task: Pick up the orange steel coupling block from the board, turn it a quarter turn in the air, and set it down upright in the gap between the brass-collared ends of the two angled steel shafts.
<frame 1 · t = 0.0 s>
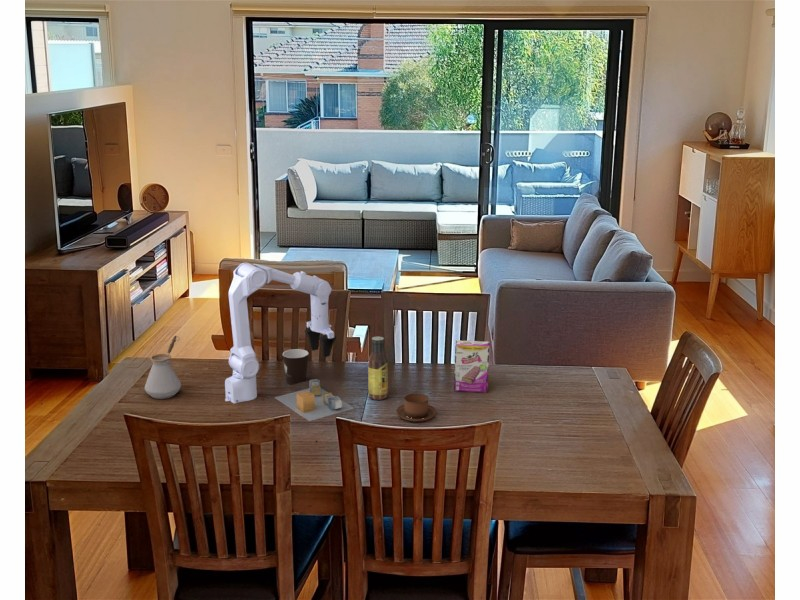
hand: (320, 353, 292), 10 cm above the table, tool pointing down, fingers open, 7 cm apart
candy bar box: (471, 390, 288), on the table
coffee mug: (297, 380, 297), on the table
coupler: (305, 409, 269), point 1 cm above the table, touching base board
base board: (313, 407, 275), on the table
shaft rig: (324, 394, 276), on the base board, point 3 cm above the table
coffee pot: (168, 389, 289), on the table
sauce bottle: (378, 397, 283), on the table
cup and saucer: (416, 417, 269), on the table
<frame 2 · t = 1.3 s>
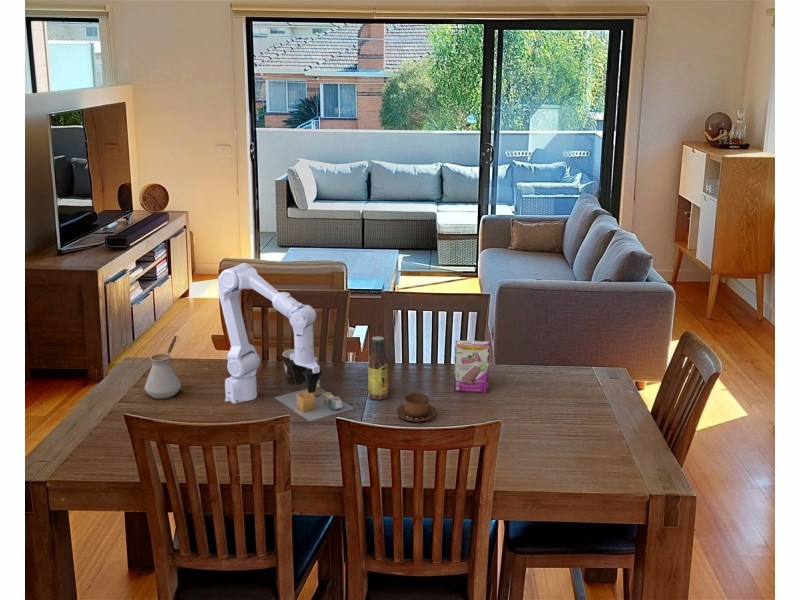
hand: (305, 388, 268), 8 cm above the table, tool pointing down, fingers open, 7 cm apart
nothing on the table moved.
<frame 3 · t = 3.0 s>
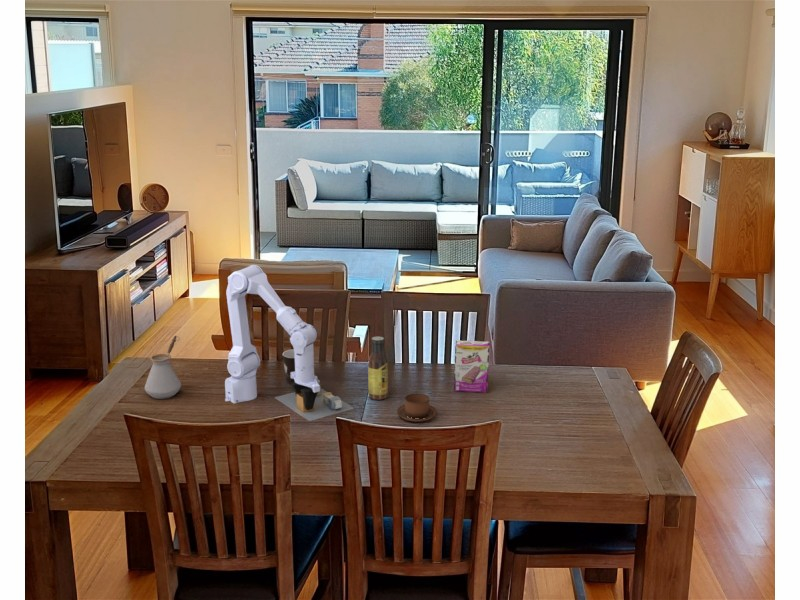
hand: (305, 406, 269), 2 cm above the table, tool pointing down, fingers closed on coupler, 4 cm apart
coupler: (305, 409, 269), point 1 cm above the table, touching base board, gripper
everything else where it was.
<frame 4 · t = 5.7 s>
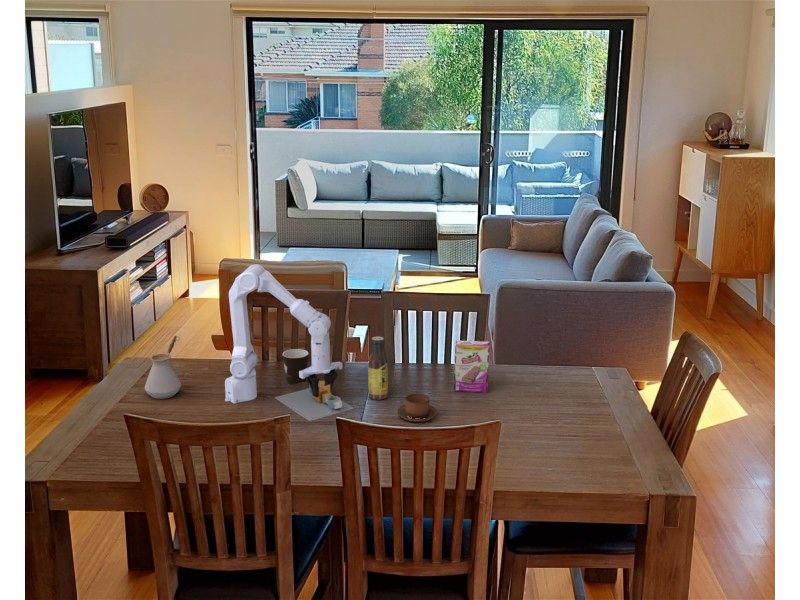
hand: (321, 394, 275), 4 cm above the table, tool pointing down, fingers closed on coupler, 4 cm apart
coupler: (321, 398, 276), point 2 cm above the table, touching gripper
everything else where it was.
when the fingers open (3 cm above the table, at t = 6.5 s): coupler stays where it is, resting on base board.
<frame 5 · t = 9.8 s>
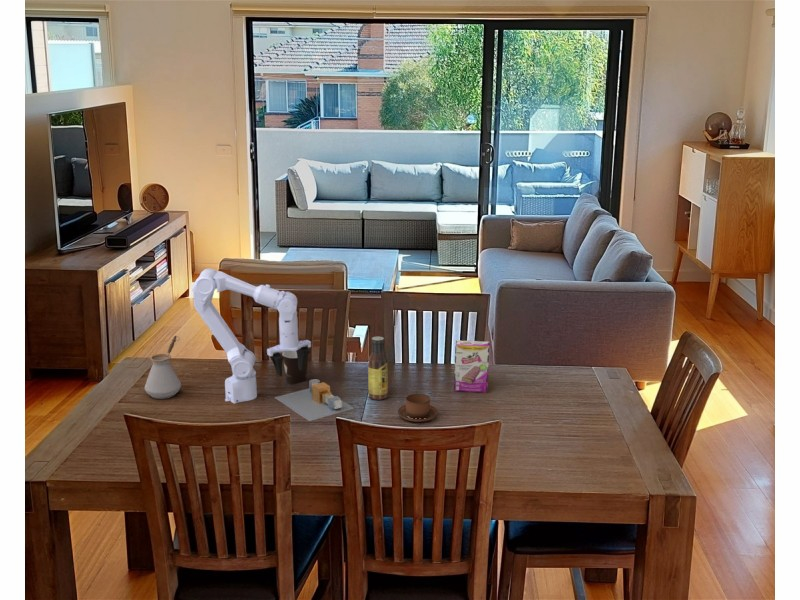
hand: (290, 372, 277), 9 cm above the table, tool pointing down, fingers open, 7 cm apart
coupler: (321, 400, 276), point 1 cm above the table, touching base board
everything else where it was.
at the end: coupler 0.1 cm from the target spot on the base board, point 1.5 cm above the base board's base; coupler tilted 0°; the gripper is holding nothing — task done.
